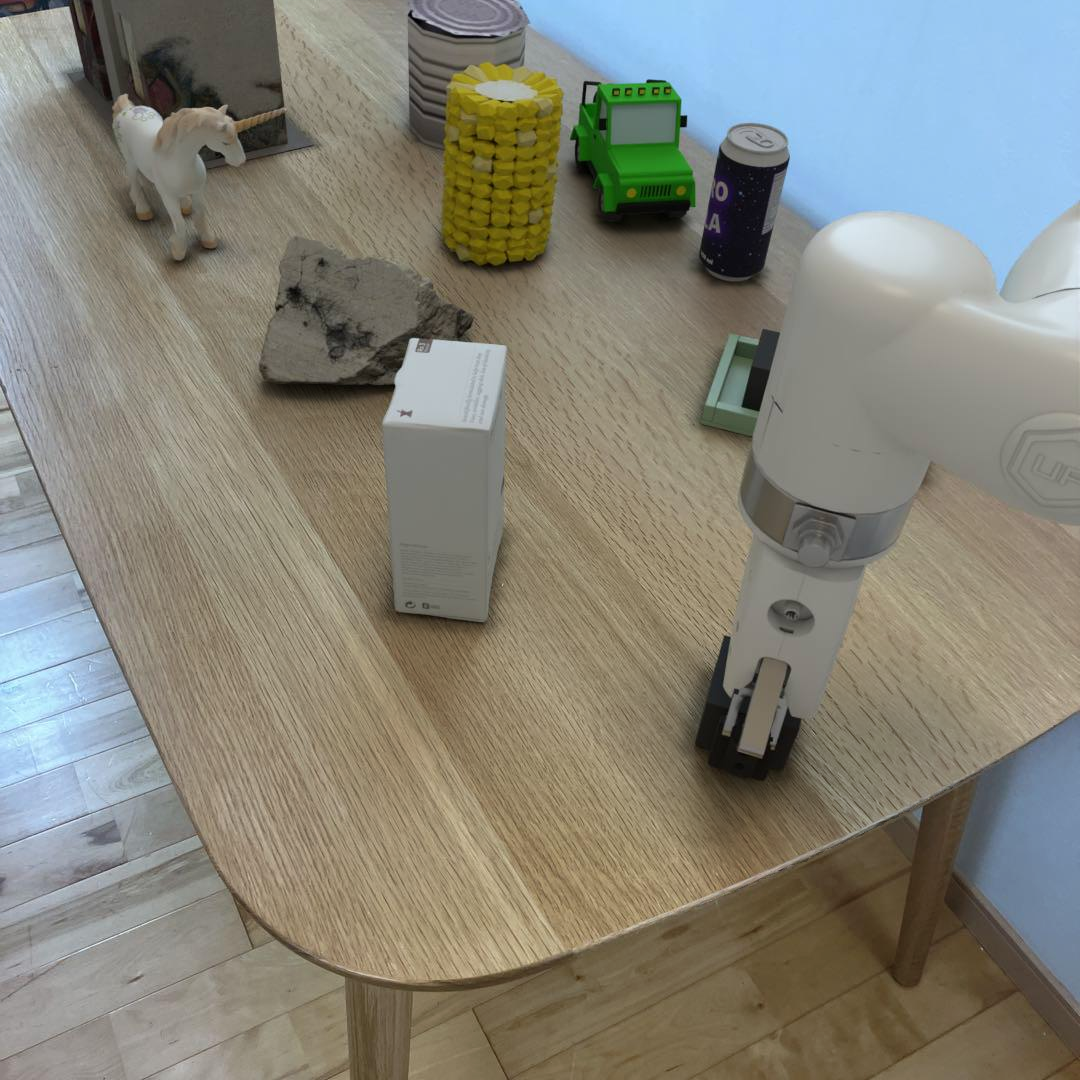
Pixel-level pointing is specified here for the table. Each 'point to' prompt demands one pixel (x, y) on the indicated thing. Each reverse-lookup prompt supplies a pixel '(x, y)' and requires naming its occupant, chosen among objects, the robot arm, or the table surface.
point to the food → (500, 162)
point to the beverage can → (744, 201)
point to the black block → (760, 370)
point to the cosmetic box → (446, 476)
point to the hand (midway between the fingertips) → (748, 715)
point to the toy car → (634, 149)
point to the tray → (732, 388)
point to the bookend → (187, 63)
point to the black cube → (720, 704)
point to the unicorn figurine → (177, 158)
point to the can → (456, 52)
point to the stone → (350, 317)
